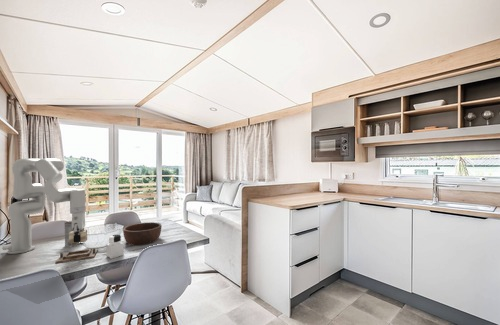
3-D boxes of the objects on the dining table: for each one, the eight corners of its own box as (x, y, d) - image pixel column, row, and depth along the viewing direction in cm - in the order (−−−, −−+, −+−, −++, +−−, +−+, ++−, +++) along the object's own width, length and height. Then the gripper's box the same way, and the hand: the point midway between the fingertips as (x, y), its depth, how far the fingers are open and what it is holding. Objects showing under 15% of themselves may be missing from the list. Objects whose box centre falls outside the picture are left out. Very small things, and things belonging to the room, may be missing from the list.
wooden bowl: (169, 237, 173) (169, 224, 173) (140, 249, 151) (140, 233, 151) (144, 234, 184) (144, 221, 184) (114, 244, 161) (114, 229, 161)
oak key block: (85, 241, 139) (85, 231, 139) (69, 243, 136) (68, 233, 136) (87, 239, 143) (87, 229, 143) (71, 241, 140) (71, 231, 140)
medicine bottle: (119, 252, 145) (118, 233, 145) (123, 255, 141) (123, 235, 141) (106, 256, 140) (106, 235, 140) (111, 258, 135) (110, 238, 135)
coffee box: (76, 241, 167) (76, 219, 167) (84, 242, 165) (84, 219, 165) (64, 246, 158) (64, 222, 158) (72, 246, 156) (72, 222, 156)
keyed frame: (55, 263, 130) (55, 257, 130) (62, 255, 141) (62, 249, 141) (93, 257, 137) (93, 251, 137) (97, 250, 149) (97, 244, 149)
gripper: (82, 211, 133) (82, 244, 133) (88, 207, 149) (88, 236, 148) (65, 213, 130) (66, 246, 130) (74, 208, 146) (74, 237, 145)
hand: (78, 240), depth 139 cm, fingers closed on oak key block, 4 cm apart
